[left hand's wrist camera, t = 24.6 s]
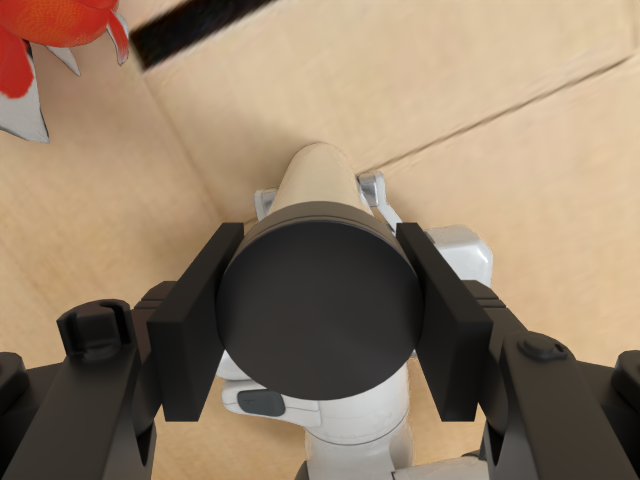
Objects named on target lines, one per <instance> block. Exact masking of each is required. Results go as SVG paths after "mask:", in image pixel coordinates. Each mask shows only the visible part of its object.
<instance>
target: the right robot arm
mask: <svg viewBox="0 0 640 480" xmlns="http://www.w3.org/2000/svg"><path fill="white" fill-rule="evenodd" d="M357 180H358V182H359V184H360V186H361V189H362V191H363V193H364V195H365V197H366V199H367V202H368V204H369V206H370V207H373V206H376V207H377V209H378V210H379V211H380V213H381V214H382V215H383V217H384V218H385V219H386V220H387V221H384V222H382V223H383V224H384V225H385V226H386V227H387V228H388V229H389V230H390V231H391V232H392V234H393V235H394V236H395V235H396V223H403V222H402V220H401V219H400V217H399V216H398V215H397V213H396V212H395V211H394V210H393V208H392V207H391V206H390V204H389V203H388V202H387V200H386V193H385V182H384V177H383V174H382V173H381V171H376V172H370V173H364V174H358V175H357ZM278 188H279V187H275V188H267V189H260V190H256V192H255V193H254V204H255V208H256V212H257V217H258V222H260V221H261V220H262V219H263V218H265V217H266V214H267V212H268V210H269V208H270V206H271V204H272V201H273V199H274V197H275V195H276V193H277V190H278ZM423 231H424V233H425V234H426V235H427V237H428V238H429V239H430V241H431V242H432V243H433V244H434V246H435V247H436V248H437V250H438V251H439V252H440V253H441V255H442V256H443V257H444V259H445V260H446V261H447V262H448V264H449V265H450V266H451V268H452V269H453V270H454V271H455V273H456V274H457V275H458V277H459V278H460V279H461V280H477V281H479V282H480V283H482V284H484V285H486V286H487V287H489V288H490V285H491V277H492V267H493V253H492V250H491V248H490V247H489V245H488V244H487V243H486V242H485V241H484V240H483V239H482V238H481V237H480V236H479V235H478V234H477V233H475V232H474V231H473V230H471V229H470V228H468V227H467V226H465V225H453V226H447V227H440V228H433V229H426V230H423ZM414 357H417V354H416V351H415V349H414V351H413V353H412V354H411V356H410V357H409V358H414ZM216 376H218V377H220V378H223V379H224V380H223V386H222V392H221V397H222V402H223V404H224V406H225V408H226V409H227V410H229V411H231V412H233V413H238V414H245V415H253V416H261V417H267V418H273V419H278V420H282V421H287V422H291V423H294V424H297V425H301V426H302V427H303V428H304V430H305V432H306V433H305V452H306V457H307V461H306V460H305V461H304V463H303V464H302V466H301V467H300V469H299V471H298V473H297V475H296V477H295V480H489V473H488V465H487V458H486V453H485V456H484V460H483V461H481V460H478V457H479V451H480V449H479V450H476V451H473V452H469V453H466V454H464V455H462V456H461V457H458V458H453V459H448V460H443V461H437V462H432V463H427V464H421V465H416V466H415V451H414V438H413V433H412V428H411V425H410V423H409V420H408V418H407V416H408V412H409V407H410V392H409V381H408V370H407V362H406V363H405V364H404V365H403V366H402V367H401V368H400V369H399V370H398V371H397V372H396V373H395V374H394V375H393V376H391V377H390V378H389V379H387V380H386V381H385V382H383V383H382V384H380V385H378V386H376V387H375V388H373V389H371V390H368V391H366V392H364V393H361V394H358V395H355V396H352V397H348V398H343V399H338V400H328V401H312V400H302V399H297V398H292V397H288V396H285V395H282V394H278V393H276V392H274V391H271V390H269V389H267V388H265V387H263V386H262V385H260V384H258V383H256V382H255V381H254V380H252V379H251V378H250V377H248V376H247V375H246V374H245V373H244V372H243V371H242V370H241V369H239V368H238V366H237V365H236V364H235V363H234V362H233V360H232V359H231V358H230V356H229V355H228V353H227V351H226V350H225V351H224V354H223V356H222V359H221V361H220V364H219V367H218V369H217V372H216Z"/></svg>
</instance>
